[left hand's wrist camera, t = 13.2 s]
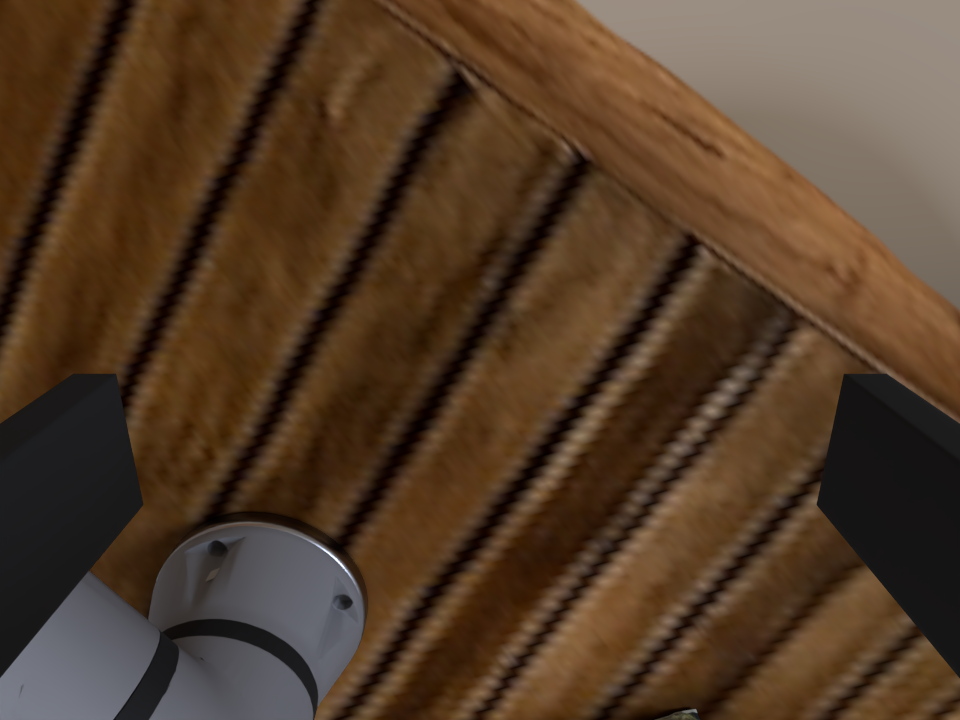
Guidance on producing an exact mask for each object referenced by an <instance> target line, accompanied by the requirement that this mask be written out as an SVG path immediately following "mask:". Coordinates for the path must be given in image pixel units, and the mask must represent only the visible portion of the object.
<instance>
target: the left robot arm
mask: <svg viewBox="0 0 960 720" xmlns="http://www.w3.org/2000/svg"><path fill="white" fill-rule="evenodd" d="M142 506H143V501H142V496H141V491H140V486H139V482H138V477H137V472H136V467H135V463H134V458H133V453H132V448H131V443H130V439H129V434H128V429H127V424H126V420H125V415H124V410H123V405H122V400H121V396H120V391H119V386H118V381H117V377H116V374H73V375H71V376H70V377H68V378H67V379H65V380H64V381H62V382H61V383H59V384H58V385H56V386H55V387H54V388H52V389H51V390H49V391H48V392H46V393H45V394H43V395H42V396H40V397H39V398H37V399H36V400H34V401H33V402H32V403H30V404H29V405H27V406H26V407H24V408H23V409H21V410H20V411H18V412H17V413H15V414H14V415H12V416H11V417H9V418H8V419H7V420H5V421H4V422H2V423H1V424H0V720H314V718H315V714H316V710H317V707H318V705H319V704H320V703H321V701H322V700H323V698H324V697H325V696H326V694H327V693H328V691H329V690H330V689H331V687H332V686H333V684H334V683H335V682H336V680H337V679H338V677H339V676H340V675H341V673H342V672H343V670H344V669H345V668H346V666H347V665H348V663H349V662H350V660H351V659H352V657H353V656H354V654H355V652H356V650H357V648H358V646H359V644H360V641H361V639H362V635H363V631H364V627H365V622H366V618H367V611H368V597H367V590H366V586H365V583H364V580H363V577H362V575H361V573H360V571H359V569H358V567H357V566H356V564H355V563H354V561H353V560H352V558H351V557H350V556H349V555H348V553H347V552H346V551H345V550H344V549H343V548H342V547H341V546H340V545H339V544H338V543H336V542H335V541H334V540H333V539H332V538H330V537H329V536H327V535H326V534H325V533H323V532H321V531H320V530H318V529H316V528H314V527H312V526H310V525H308V524H306V523H303V522H301V521H298V520H296V519H292V518H289V517H285V516H281V515H276V514H269V513H255V512H254V513H238V514H232V515H227V516H223V517H219V518H216V519H213V520H211V521H209V522H206V523H204V524H202V525H201V526H199V527H197V528H195V529H194V530H193V531H191V532H190V533H189V534H187V535H186V536H185V537H184V538H183V539H182V540H181V541H180V542H179V543H178V544H177V546H176V547H175V549H174V550H173V551H172V553H171V554H170V556H169V557H168V559H167V560H166V562H165V563H164V565H163V566H162V568H161V570H160V572H159V575H158V577H157V580H156V583H155V586H154V590H153V595H152V600H151V606H150V612H149V617H148V619H146V618H145V617H144V616H143V615H142V614H140V613H139V612H138V611H137V610H136V609H134V608H133V607H132V606H131V605H130V604H128V603H127V602H126V601H125V600H124V599H122V598H121V597H120V596H119V595H118V594H116V593H115V592H114V591H113V590H112V589H110V588H109V587H108V586H107V585H106V584H105V583H103V582H102V581H101V580H100V579H99V578H97V577H96V576H95V575H94V574H93V573H91V572H90V571H89V570H90V569H91V568H92V566H93V565H94V564H95V563H96V562H97V560H98V559H99V558H100V557H101V555H102V554H103V553H104V552H105V551H106V549H107V548H108V547H109V546H110V545H111V543H112V542H113V541H114V540H115V538H116V537H117V536H118V535H119V534H120V532H121V531H122V530H123V529H124V528H125V526H126V525H127V524H128V523H129V522H130V520H131V519H132V518H133V517H134V515H135V514H136V513H137V512H138V511H139V509H140V508H141V507H142ZM817 506H818V507H819V508H820V509H821V511H822V512H823V513H824V514H825V515H826V517H827V518H828V519H829V520H830V522H831V523H832V524H833V525H834V526H835V528H836V529H837V530H838V531H839V532H840V534H841V535H842V536H843V537H844V538H845V540H846V541H847V542H848V543H849V545H850V546H851V547H852V548H853V549H854V551H855V552H856V553H857V554H858V555H859V557H860V558H861V559H862V560H863V562H864V563H865V564H866V565H867V566H868V568H869V569H870V570H871V571H872V572H873V574H874V575H875V576H876V577H877V578H878V580H879V581H880V582H881V583H882V585H883V586H884V587H885V588H886V589H887V591H888V592H889V593H890V594H891V595H892V597H893V598H894V599H895V600H896V601H897V603H898V604H899V605H900V606H901V608H902V609H903V610H904V611H905V612H906V614H907V615H908V616H909V617H910V618H911V620H912V621H913V622H914V623H915V625H916V626H917V627H918V628H919V629H920V631H921V632H922V633H923V634H924V635H925V637H926V638H927V639H928V640H929V641H930V643H931V644H932V645H933V646H934V648H935V649H936V650H937V651H938V652H939V654H940V655H941V656H942V657H943V658H944V660H945V661H946V662H947V663H948V664H949V666H950V667H951V668H952V669H953V671H954V672H955V673H956V674H957V675H958V677H959V678H960V424H959V423H958V422H956V421H955V420H953V419H952V418H950V417H949V416H948V415H946V414H945V413H943V412H942V411H940V410H939V409H937V408H936V407H934V406H933V405H931V404H930V403H928V402H927V401H926V400H924V399H923V398H921V397H920V396H918V395H917V394H915V393H914V392H912V391H911V390H909V389H908V388H906V387H905V386H904V385H902V384H901V383H899V382H898V381H896V380H895V379H893V378H892V377H890V376H889V375H887V374H844V377H843V381H842V386H841V391H840V396H839V400H838V405H837V410H836V415H835V420H834V424H833V429H832V434H831V439H830V443H829V448H828V453H827V458H826V463H825V467H824V472H823V477H822V482H821V486H820V491H819V496H818V501H817Z"/></svg>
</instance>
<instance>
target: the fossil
mask: <svg viewBox="0 0 960 720" xmlns="http://www.w3.org/2000/svg"><path fill="white" fill-rule="evenodd" d="M656 720H701V719H700V718H699V716H698V713H697V711H696V709H692V710H686V711H680V712H675V713H673V714H671V715H669V716H666V717H662V718H659V719H656Z"/></svg>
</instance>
